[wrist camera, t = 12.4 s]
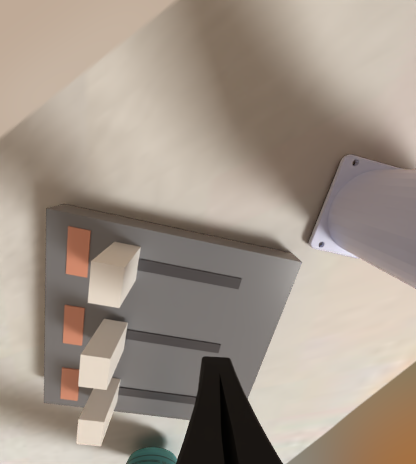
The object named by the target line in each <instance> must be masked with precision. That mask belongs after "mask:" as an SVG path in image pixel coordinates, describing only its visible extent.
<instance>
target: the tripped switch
mask: <svg viewBox="0 0 416 464" xmlns="http://www.w3.org/2000/svg"><path fill="white" fill-rule="evenodd" d="M127 325H128V323H127V322H121V321H115V320H109V319H103V321H102V323H101V324H100V326H99V327H98V329H97V330H96V332H95V333H94V335H93V336H92V338H91V339H90V341H89V342H88V344H87V346H86V347H85V349H84V350H83V352H82V353H81V356H80V369H79V382H78V386H79V387H86V388H94V389H102V390H107V388H108V385H109V383H110V381H111V378H112V376H113V374H114V371H115V369H116V367H117V364H118V362H119V360H120V357H121V355H122V353H123V350H124V345H125V338H126V332H127Z"/></svg>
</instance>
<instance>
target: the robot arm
mask: <svg viewBox="0 0 416 464" xmlns="http://www.w3.org/2000/svg"><path fill="white" fill-rule="evenodd" d="M354 160H355V165H354V166H353V164H352V163H353V161H354ZM320 242H322V244H321V245H320V246H319V243H320ZM309 245H310V247H312V248H314V249H319V250H323V251H328V252H332V253H337V254H341V255H346V256H350V257H355V258H359V259H362V260H364V261H366V262H367V263H369V264H371V265H373V266H375V267H377V268H378V269H380V270H382V271H384V272H386V273H388V274H389V275H391V276H393V277H395V278H397V279H399V280H401V281H402V282H404V283H406V284H408V285H410V286H412V287H413V288H415V289H416V169H402V168H398V167H395V166H391V165H387V164H384V163H380V162H377V161H373V160H369V159H366V158H362V157H358V156H355V155H346V156H344V157H343V158H342V160H341V162H340V164H339V167H338V169H337V172H336V174H335V177H334V180H333V182H332V185H331V187H330V190H329V192H328V195H327V197H326V200H325V202H324V205H323V207H322V210H321V212H320V215H319V217H318V220H317V222H316V225H315V227H314V230H313V232H312V235H311V237H310V240H309ZM176 464H283V463H282V462H281V460H280V458H279V457H278V455H277V453H276V452H275V450H274V448H273V446H272V445H271V443H270V441H269V439H268V438H267V436H266V434H265V432H264V430H263V429H262V427H261V425H260V423H259V421H258V419H257V417H256V415H255V413H254V412H253V409H252V407H251V405H250V403H249V401H248V399H247V397H246V395H245V393H244V391H243V389H242V386H241V384H240V382H239V379H238V377H237V375H236V372H235V370H234V367H233V364H232V361H231V359H230V358H227V357H209V356H204V357H203V358H202V361H201V368H200V376H199V383H198V392H197V396H196V401H195V405H194V409H193V412H192V415H191V419H190V422H189V426H188V429H187V432H186V435H185V438H184V442H183V444H182V447H181V450H180V453H179V456H178V459H177V462H176Z"/></svg>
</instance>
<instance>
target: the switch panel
mask: <svg viewBox="0 0 416 464" xmlns="http://www.w3.org/2000/svg"><path fill="white" fill-rule="evenodd" d="M301 264H302V262H301V261H300V260H299V259H298V258H297V257H296V256H295V255H293V254H292V253H290V252H285V251H280V250H276V249H271V248H266V247H262V246H257V245H252V244H248V243H243V242H238V241H234V240H229V239H225V238H220V237H215V236H211V235H206V234H201V233H197V232H192V231H187V230H183V229H178V228H173V227H169V226H164V225H159V224H155V223H150V222H145V221H141V220H136V219H131V218H127V217H122V216H118V215H113V214H108V213H104V212H99V211H94V210H90V209H85V208H80V207H76V206H71V205H66V204H62V205H58V206H54V207H50V208H46V280H45V359H44V403H50V404H58V405H67V406H75V407H83V408H84V409H83V411H82V413H81V415H80V417H79V419H78V429H77V441H76V444H82V445H92V446H101V445H102V442H103V439H104V436H105V434H106V431H107V428H108V425H109V423H110V420H111V417H112V414H113V412H114V411H117V412H126V413H134V414H143V415H151V416H160V417H168V418H177V419H185V420H190V419H191V415H192V412H193V409H194V405H195V401H196V396H197V392H198V383H199V376H200V368H201V361H202V358H203V357H204V356H209V357H227V358H230V359H231V361H232V364H233V367H234V370H235V372H236V375H237V377H238V379H239V382H240V384H241V386H242V389H243V391H244V393H245V395H246V397H247V399H248V396H249V394H250V391H251V389H252V386H253V384H254V381H255V379H256V376H257V374H258V371H259V369H260V366H261V364H262V361H263V359H264V356H265V354H266V351H267V349H268V346H269V344H270V341H271V339H272V336H273V334H274V331H275V329H276V326H277V324H278V321H279V319H280V316H281V314H282V311H283V309H284V306H285V304H286V301H287V299H288V296H289V294H290V291H291V289H292V286H293V284H294V281H295V279H296V276H297V274H298V271H299V269H300V266H301ZM103 319H109V320H115V321H121V322H127V323H128V325H127V332H126V338H125V345H124V350H123V353H122V355H121V357H120V360H119V362H118V364H117V367H116V369H115V371H114V374H113V376H112V378H111V381H110V383H109V385H108V388H107V390H102V389H94V388H86V387H79V386H78V382H79V369H80V356H81V353H82V352H83V350H84V349H85V347H86V346H87V344H88V342H89V341H90V339H91V338H92V336H93V335H94V333H95V332H96V330H97V329H98V327H99V326H100V324H101V323H102V321H103Z"/></svg>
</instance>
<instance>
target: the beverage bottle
mask: <svg viewBox="0 0 416 464" xmlns="http://www.w3.org/2000/svg"><path fill="white" fill-rule="evenodd" d="M176 462H177V458H176V457H175V455H174V454H173V453H171V452H170V451H168V450H166V449H163V448H158V447H147V448H142V449H139V450H137V451H135V452H134V453H133V454H131V456H130V457H129V459H128V461H127V463H126V464H176Z"/></svg>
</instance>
